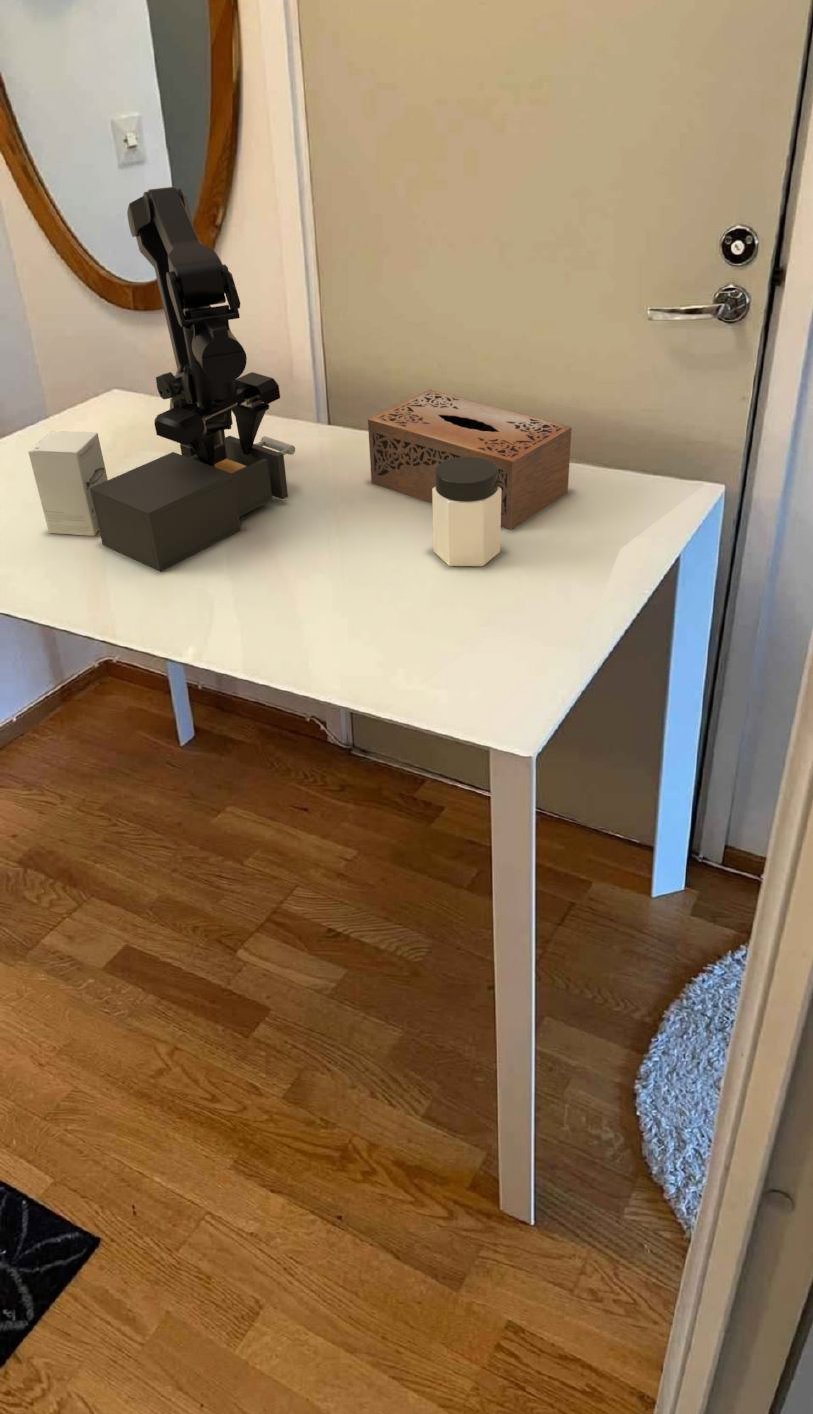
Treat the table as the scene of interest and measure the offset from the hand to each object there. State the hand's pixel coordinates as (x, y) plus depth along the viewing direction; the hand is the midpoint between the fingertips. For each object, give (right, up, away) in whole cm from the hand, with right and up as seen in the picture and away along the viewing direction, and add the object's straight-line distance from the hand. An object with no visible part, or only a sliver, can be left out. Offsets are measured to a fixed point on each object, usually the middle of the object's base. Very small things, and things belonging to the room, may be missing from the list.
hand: (228, 463), depth 153 cm
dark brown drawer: (+1, -4, +4) cm, 6 cm away
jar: (+34, -14, -10) cm, 38 cm away
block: (0, -4, +2) cm, 5 cm away
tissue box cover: (+35, -2, +6) cm, 35 cm away
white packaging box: (-21, -9, +1) cm, 23 cm away
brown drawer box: (-7, -11, -3) cm, 14 cm away
